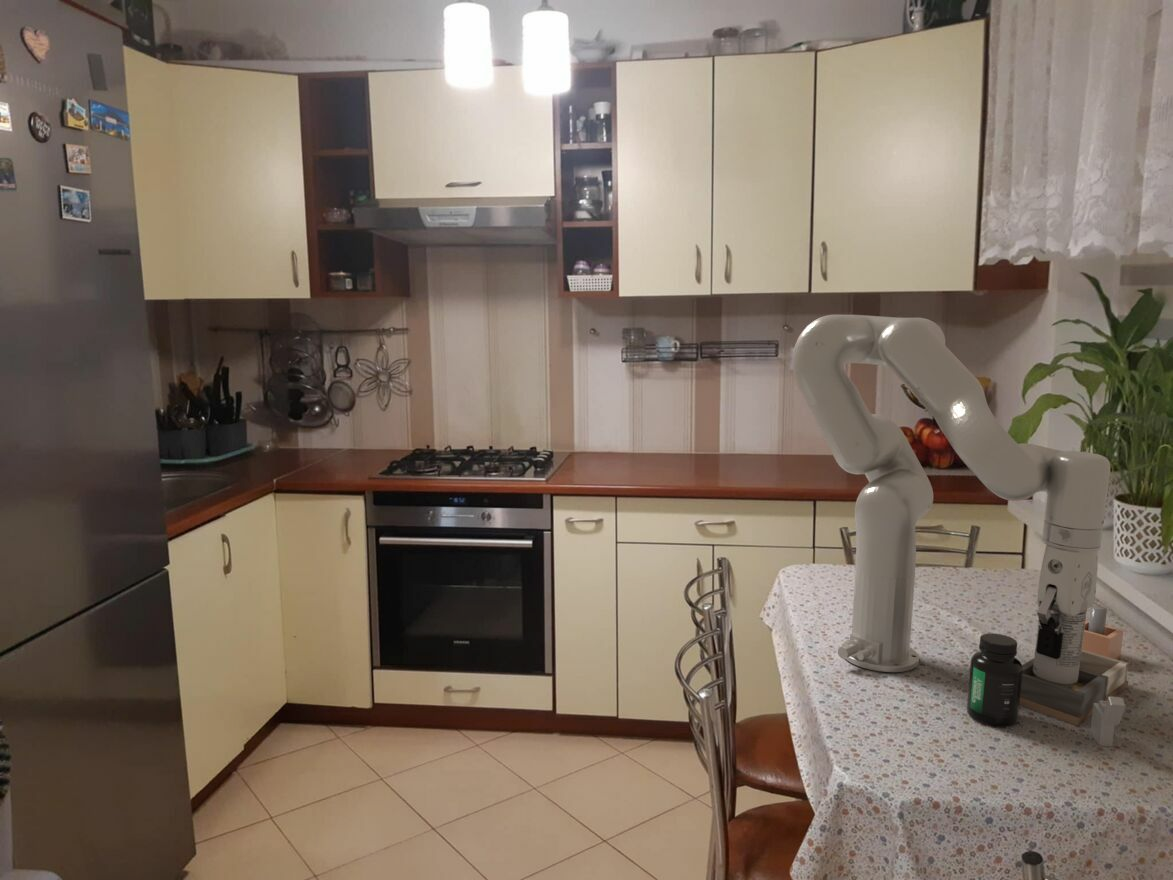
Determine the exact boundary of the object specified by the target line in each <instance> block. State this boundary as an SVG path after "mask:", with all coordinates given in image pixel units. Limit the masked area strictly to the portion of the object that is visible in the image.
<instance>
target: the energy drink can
mask: <svg viewBox="0 0 1173 880" xmlns="http://www.w3.org/2000/svg"><path fill="white" fill-rule="evenodd" d="M1087 605H1088V601H1087V600H1085V599H1084V601H1083V603H1082V604H1081V609H1080V613H1079V614H1077V615H1075V616H1072V617H1067V616H1066V614H1065V618H1064V621H1063V625H1062V629H1061V632H1060V633H1063V640H1062V648H1061V656H1060V658H1059V659H1054V658H1051V657H1048V656H1045V655H1042V654H1039V653H1037V651H1036V649H1037V640H1038V632H1039V628H1038V627H1037V632H1036V640H1035V649H1034V657H1033V658H1034V665H1033V673H1034V674H1035V675H1036V678H1039V679H1042V680H1045V681H1048V682H1051V683H1054V684H1057V685H1060V686H1063V687H1066V688H1070V687H1072V686H1073V684H1074V683H1076V682H1077V681H1078V675H1079V667H1080V659H1081V652H1082V644H1083V636H1084V628H1085V621H1086V619H1087V612H1088V609H1087ZM1052 610H1055V611H1058V612H1060V610H1059V607H1057V606H1053V607H1052ZM1051 617H1052V618H1054V620H1055V622H1056V621H1057V617H1058V616H1056V615H1053V614H1051ZM1038 625H1039V621H1038V622H1037V626H1038Z"/></svg>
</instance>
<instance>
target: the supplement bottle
mask: <svg viewBox="0 0 1173 880" xmlns="http://www.w3.org/2000/svg"><path fill="white" fill-rule="evenodd" d="M1017 648H1018V642H1017V640H1016V639H1015V638H1013V637H1011V636H1009V635H1005V634H1001V633H993V632H991V633H990V632H989V633H983V634H981V636H980V638H979V643H978V649H979V650H978V651H976V652H975V653H974V654H972V656H971V658H970V666H969V675H968V685H967V687H968V688H967V699H966V700H967V701H966V711H967V714H968V715H969V717H970V718H972V719H973V720H974V721H976V722H978V723H981V724H983V725H986V726H991V727H995V728H996V727H997V728H1008V727H1013V726H1014V725H1016V723H1017V722H1018V720H1019V713H1020V694H1021V684H1022V673H1023V667H1022V665H1023V664H1022V663H1021V660H1019V659H1018V658H1017V657H1016V656H1017V654H1018V649H1017Z"/></svg>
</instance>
